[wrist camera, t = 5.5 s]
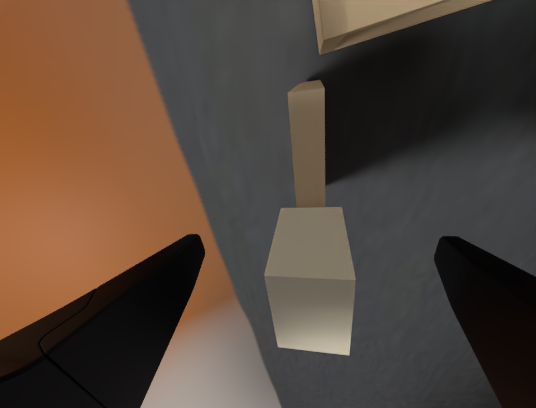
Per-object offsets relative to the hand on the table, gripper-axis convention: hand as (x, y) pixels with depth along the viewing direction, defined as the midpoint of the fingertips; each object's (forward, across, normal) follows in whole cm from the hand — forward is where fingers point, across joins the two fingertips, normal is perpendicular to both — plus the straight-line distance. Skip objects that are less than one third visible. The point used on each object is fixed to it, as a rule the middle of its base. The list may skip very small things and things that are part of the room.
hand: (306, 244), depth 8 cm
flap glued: (+7, 0, -2) cm, 7 cm away
